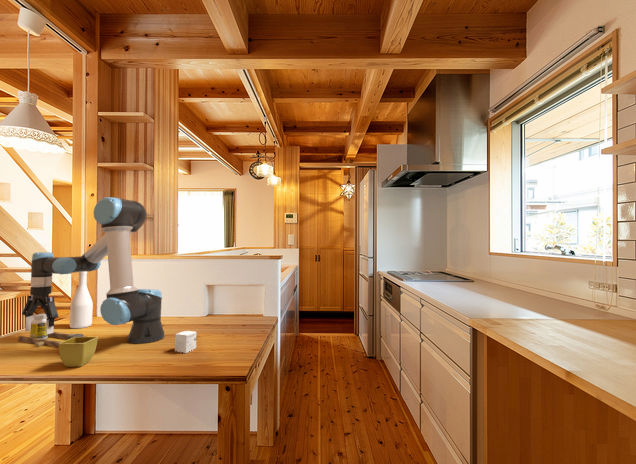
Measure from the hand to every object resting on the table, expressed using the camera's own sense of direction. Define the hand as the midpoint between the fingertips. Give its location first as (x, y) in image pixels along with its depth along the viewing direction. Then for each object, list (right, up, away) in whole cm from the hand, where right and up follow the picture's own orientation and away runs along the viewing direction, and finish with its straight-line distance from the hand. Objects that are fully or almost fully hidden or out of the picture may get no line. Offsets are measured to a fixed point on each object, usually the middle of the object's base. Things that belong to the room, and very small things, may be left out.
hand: (39, 332), depth 147 cm
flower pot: (+40, -3, -29) cm, 50 cm away
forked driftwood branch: (+11, -3, -3) cm, 12 cm away
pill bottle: (0, -3, 0) cm, 3 cm away
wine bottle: (+3, -4, +22) cm, 23 cm away
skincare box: (+73, -4, -12) cm, 74 cm away
